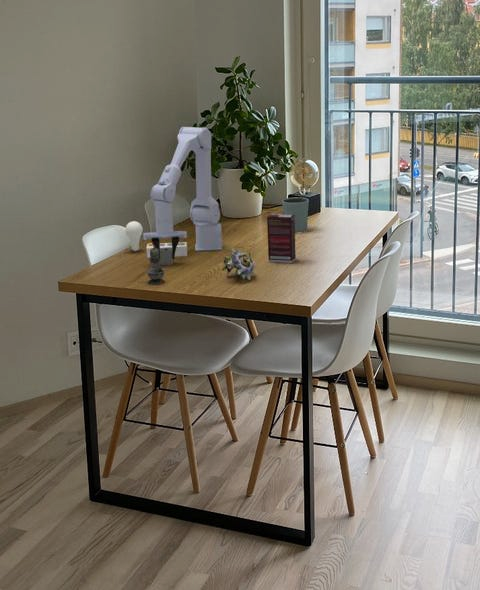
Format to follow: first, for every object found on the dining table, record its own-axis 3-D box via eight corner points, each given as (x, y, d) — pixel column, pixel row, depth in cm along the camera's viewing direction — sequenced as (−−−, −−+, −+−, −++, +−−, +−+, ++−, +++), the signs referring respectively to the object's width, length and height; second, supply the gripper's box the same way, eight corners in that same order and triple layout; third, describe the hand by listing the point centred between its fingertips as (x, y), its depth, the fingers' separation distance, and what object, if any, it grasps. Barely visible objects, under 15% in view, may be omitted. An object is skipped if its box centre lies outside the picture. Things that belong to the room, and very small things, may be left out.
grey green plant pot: (313, 229, 346) (313, 198, 342) (301, 234, 338) (300, 203, 334) (290, 226, 351) (290, 196, 348) (277, 232, 343) (277, 201, 340)
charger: (172, 260, 308) (171, 245, 306) (172, 264, 302) (171, 249, 301) (161, 261, 307) (160, 246, 306) (160, 265, 302) (159, 250, 301)
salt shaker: (147, 279, 286) (144, 243, 283) (165, 278, 287) (163, 242, 283) (146, 285, 281) (144, 248, 277) (165, 284, 281) (163, 247, 278)
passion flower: (248, 296, 285) (244, 273, 275) (217, 287, 288) (212, 264, 278) (261, 269, 290) (258, 246, 281) (231, 261, 294) (227, 237, 284)
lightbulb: (141, 253, 318) (139, 223, 315) (124, 253, 319) (122, 223, 316) (146, 249, 324) (144, 219, 320) (130, 249, 325) (127, 219, 322)
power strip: (187, 251, 319) (186, 240, 317) (187, 256, 313) (186, 244, 312) (147, 253, 318) (147, 241, 317) (147, 257, 312) (146, 246, 311)
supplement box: (296, 259, 304) (295, 214, 299) (292, 263, 300) (291, 217, 295) (271, 258, 307) (270, 213, 302) (267, 262, 302) (266, 216, 298)
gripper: (142, 223, 295) (144, 263, 300) (185, 221, 296) (187, 261, 300) (142, 218, 302) (145, 257, 306) (185, 217, 303) (187, 255, 307)
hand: (166, 259), depth 304 cm, fingers closed on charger, 4 cm apart
